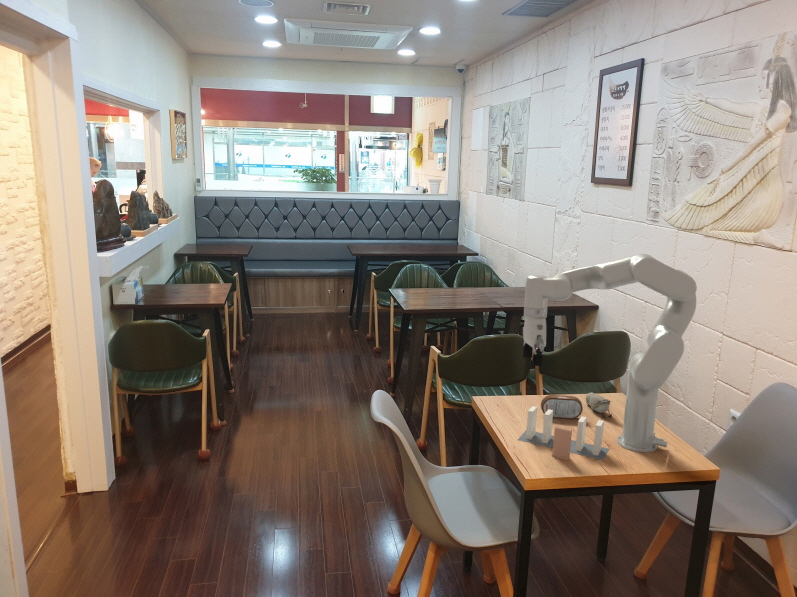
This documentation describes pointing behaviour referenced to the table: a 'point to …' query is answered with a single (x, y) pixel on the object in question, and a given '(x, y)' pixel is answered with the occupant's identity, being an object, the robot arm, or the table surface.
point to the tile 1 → (531, 422)
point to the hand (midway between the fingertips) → (532, 361)
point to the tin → (562, 406)
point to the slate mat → (585, 451)
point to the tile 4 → (581, 433)
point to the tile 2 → (547, 426)
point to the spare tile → (562, 442)
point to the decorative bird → (598, 403)
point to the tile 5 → (598, 437)
